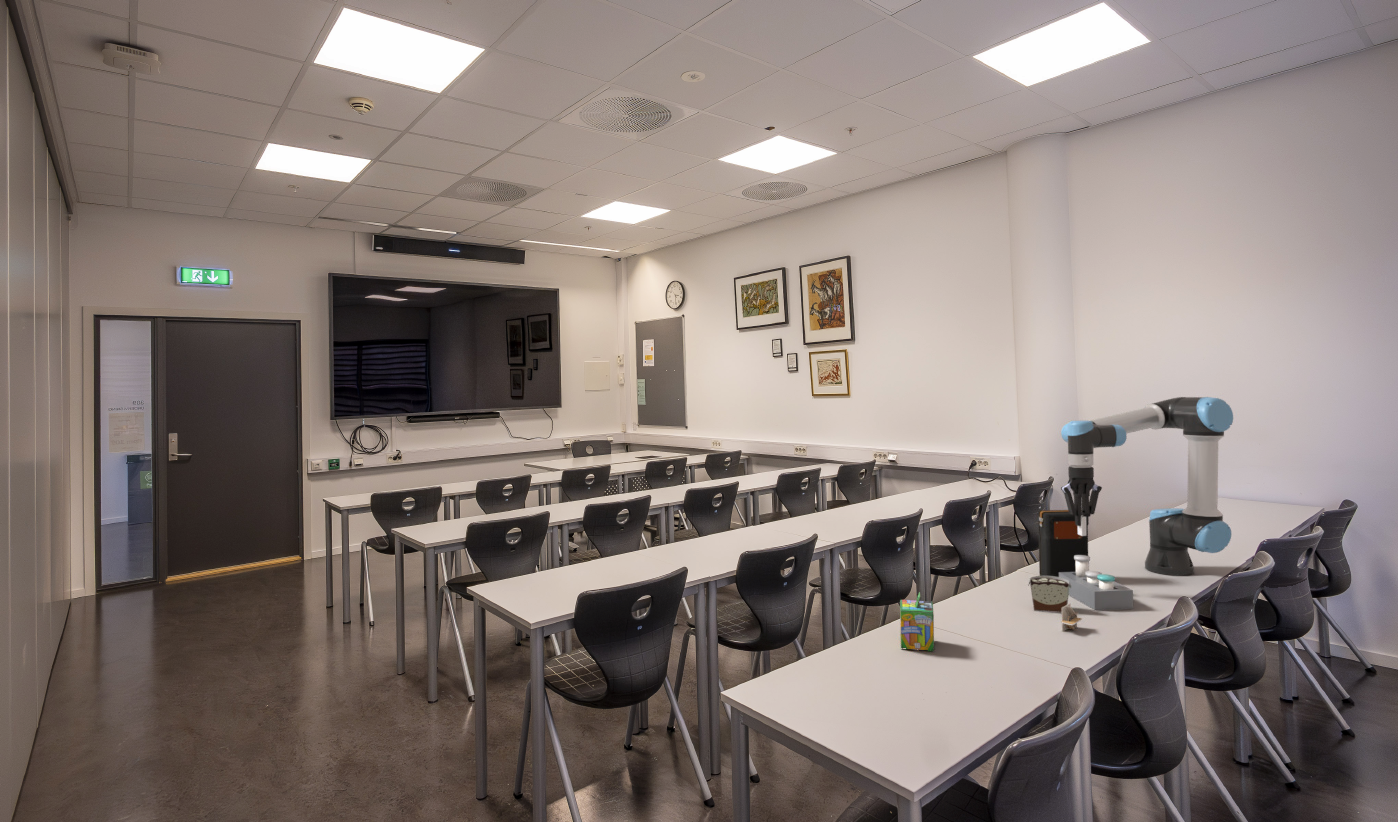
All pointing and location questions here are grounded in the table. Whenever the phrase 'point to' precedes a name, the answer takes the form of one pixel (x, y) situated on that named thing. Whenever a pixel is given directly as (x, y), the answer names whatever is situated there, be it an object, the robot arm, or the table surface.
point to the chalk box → (917, 624)
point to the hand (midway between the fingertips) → (1082, 534)
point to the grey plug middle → (1092, 576)
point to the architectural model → (1069, 618)
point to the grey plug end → (1081, 565)
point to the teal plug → (1106, 581)
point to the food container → (1049, 593)
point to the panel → (1098, 593)
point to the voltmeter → (1059, 542)
